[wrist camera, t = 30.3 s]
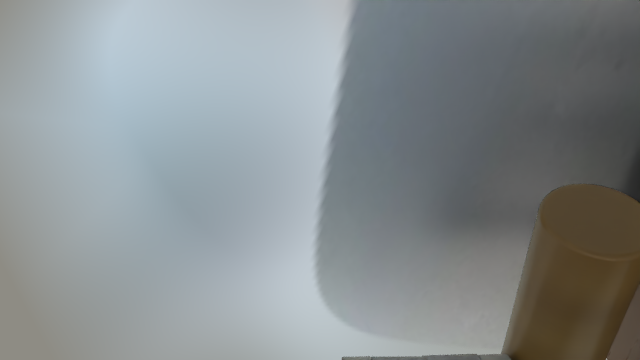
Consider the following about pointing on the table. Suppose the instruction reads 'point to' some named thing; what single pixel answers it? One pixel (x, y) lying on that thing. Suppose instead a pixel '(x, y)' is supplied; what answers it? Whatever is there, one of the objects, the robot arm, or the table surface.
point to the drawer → (580, 279)
